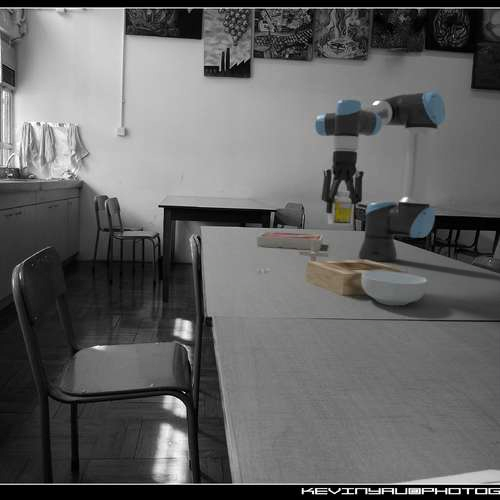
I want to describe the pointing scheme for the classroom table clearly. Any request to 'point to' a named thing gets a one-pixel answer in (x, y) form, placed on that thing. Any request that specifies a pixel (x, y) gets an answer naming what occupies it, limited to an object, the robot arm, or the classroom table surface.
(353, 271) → the seat board
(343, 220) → the pill bottle
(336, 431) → the classroom table surface
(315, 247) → the pipe connector
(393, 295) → the cereal bowl
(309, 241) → the product packaging
